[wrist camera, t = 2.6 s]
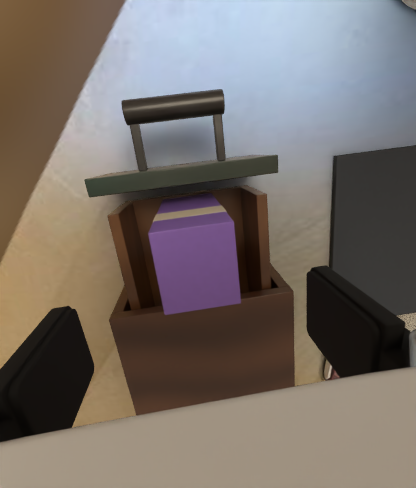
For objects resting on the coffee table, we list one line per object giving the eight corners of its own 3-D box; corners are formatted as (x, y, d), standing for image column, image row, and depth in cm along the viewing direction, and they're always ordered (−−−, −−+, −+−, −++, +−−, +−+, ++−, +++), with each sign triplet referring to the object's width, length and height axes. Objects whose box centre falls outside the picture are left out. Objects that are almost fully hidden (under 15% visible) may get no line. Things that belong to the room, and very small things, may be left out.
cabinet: (130, 271, 28) (108, 319, 20) (261, 251, 29) (293, 291, 20) (157, 383, 33) (149, 459, 25) (267, 364, 34) (295, 433, 25)
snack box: (162, 199, 24) (147, 232, 13) (211, 192, 24) (234, 220, 14) (171, 250, 25) (164, 316, 15) (217, 244, 26) (241, 303, 15)
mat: (333, 156, 26) (337, 155, 25) (483, 136, 27) (490, 136, 26) (327, 323, 33) (329, 326, 32) (448, 304, 33) (452, 306, 33)
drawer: (97, 115, 22) (62, 97, 16) (249, 97, 23) (275, 73, 16) (143, 310, 28) (131, 356, 22) (260, 292, 29) (283, 331, 23)
